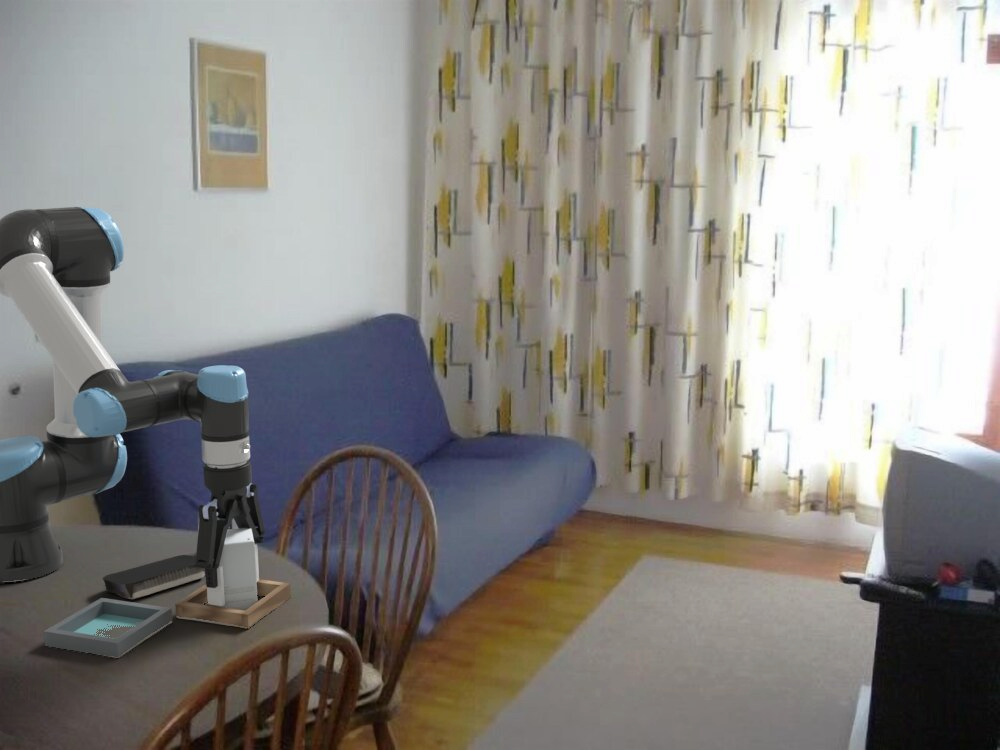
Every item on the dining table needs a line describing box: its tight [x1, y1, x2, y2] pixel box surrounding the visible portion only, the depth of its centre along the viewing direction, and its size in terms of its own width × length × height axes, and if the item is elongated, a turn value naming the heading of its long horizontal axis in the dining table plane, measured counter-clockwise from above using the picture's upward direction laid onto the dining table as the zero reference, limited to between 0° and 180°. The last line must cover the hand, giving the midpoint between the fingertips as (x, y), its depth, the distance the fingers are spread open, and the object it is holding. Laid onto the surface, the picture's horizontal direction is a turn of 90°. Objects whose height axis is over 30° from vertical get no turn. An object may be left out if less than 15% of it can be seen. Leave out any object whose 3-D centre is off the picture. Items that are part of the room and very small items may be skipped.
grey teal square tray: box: [43, 597, 173, 657], centre depth 169 cm, size 13×13×2 cm
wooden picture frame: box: [174, 578, 292, 627], centre depth 179 cm, size 13×13×2 cm
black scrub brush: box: [102, 554, 205, 600], centre depth 188 cm, size 16×8×4 cm, turn 136°
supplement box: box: [211, 528, 259, 611], centre depth 178 cm, size 7×7×13 cm
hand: (234, 592), depth 178 cm, fingers closed on supplement box, 10 cm apart
